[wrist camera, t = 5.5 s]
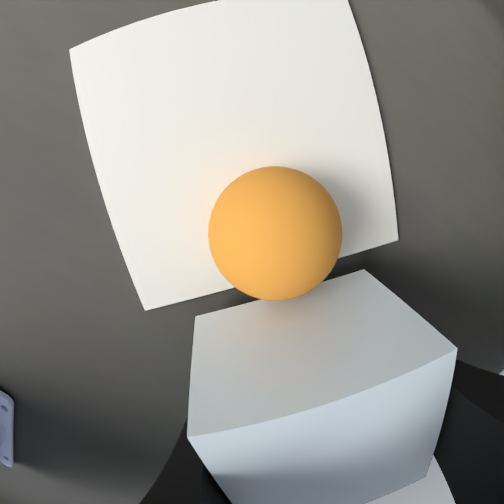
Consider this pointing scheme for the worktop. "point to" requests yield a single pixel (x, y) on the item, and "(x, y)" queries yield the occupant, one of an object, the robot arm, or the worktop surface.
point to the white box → (318, 395)
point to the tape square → (228, 128)
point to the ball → (275, 233)
